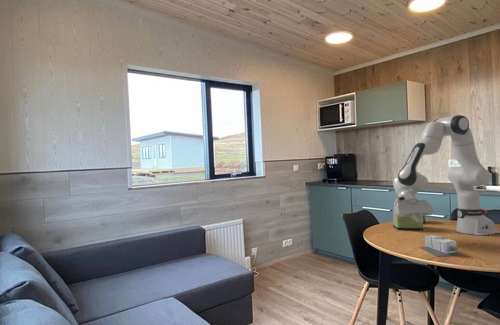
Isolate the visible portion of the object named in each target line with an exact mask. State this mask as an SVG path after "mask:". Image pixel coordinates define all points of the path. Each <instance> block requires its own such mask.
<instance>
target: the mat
mask: <svg viewBox="0 0 500 325" xmlns="http://www.w3.org/2000/svg"><path fill="white" fill-rule="evenodd" d="M419 249H421V250H423V251H426V252H428V253H430V254H432V255H433V256H435V257H454V256H455V257H457V256H463V254H462V253H460V252H458V251H457V253H449V254H446V253H443V252H440V251H437V250H435V249H432V248H429V247H427V246H419Z"/></svg>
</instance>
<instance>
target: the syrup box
mask: <svg viewBox="0 0 500 325" xmlns="http://www.w3.org/2000/svg"><path fill="white" fill-rule="evenodd" d="M424 245H425V246H424V247H429V248H432V249H435V250H437V251H440V252H443V253H446V254H449V253H457V252H458V249H457V248H458V245H457V241H456V240H453V239H451V238H450V239H449V238H446V237H444V236H440V235H436V234H429V235H424Z"/></svg>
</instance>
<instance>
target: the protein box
mask: <svg viewBox="0 0 500 325" xmlns="http://www.w3.org/2000/svg"><path fill="white" fill-rule="evenodd" d="M394 208H395V207H394V206H393V205H392V216H393V217H392V218H393V219H392V221H393V224H392V225H393V226H392V227H393V228H395V230H397V231H424V223H423V222H416V220H415V219H413V218H412V216H404V217H399V216H397V214H396V212H395V209H394ZM416 217H417V218H420V217H418V216H416ZM422 219H423V216H422Z"/></svg>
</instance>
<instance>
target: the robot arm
mask: <svg viewBox="0 0 500 325" xmlns="http://www.w3.org/2000/svg"><path fill="white" fill-rule="evenodd" d="M469 121H470V120H469V119H468V118H467V117H466V116H465V115H461V114H460V115H459V114H457V115H450V116H445V117H441V118H438V119H434V120H432V121H431V122H428V123H427V124H426V126H425V128H424V129H423V132H422V134H421V136H420V138H419V141H418V142H417V143H416V144H415V145H414V146H413V148H412V149H411V151H410V153H409V155H408V157H407V159H406V161H405V163H404V165H403V166H402V168H401V169H400V171H399V172H398V174H397V177H395V178H394V179H393V181H392V186H393V189H394V191H395V193H396V195H397V197H396V199H395V201H394V202H393V203H392V207H393V206H394V207H395V208H394V209H395V212H396V214H397V216H399V217H404V216H412V218H413V219H415V220H416V222H423V219H422V216H424V215H425V216H432V215H433V214H434V212H435V210H434V208H433V207H432V205H431V204H430V202H428V201H427V200H424V199H423V200H420V199H419V198H418V197H417V195H416V194H417V193H420V192H421V191H422V192H423V191H424V190H425V189H426V188H427V187H428V185H429V180H428V178H427V177H426V176H424V175H423V174H421V173H420V172H418V171H417V168H418V165H419V163H420V161H421V159H422V158H423V156H424V155H425V156H428V155H429V156H430V155H434V154H437V153H438V152H439V150H440V147H441V146H442V142H443V139H444V137H446V136H447V137H448V136H450V138H451V147H452V152H453V157H454V160H455V161H457V162H458V163H459V165H460V166H456V167H452V168H450V169H449V171H448V172H447V179H448V181H450V182H451V183H452V185H453V186H454V189H455V192H456V196H457V208H456V214H457V222H456V225H455V226H456V227H455V229H454V230H455V231H456V232H457V233H461V234H465V235H466V234H467V235H475V236H487V235H488V234H489V235H496V234H495V233H497V234H500V230H499V229H497V228H496V224H495V222H494V221H493V220H492V219H490V218H489V217H487V216H486V215H485V214H487V213H488V209H484V208H483V209H482V208H481V196H480V194H479V193H478V192H477V191H476V190H475V188H474V187H479V186H480V187H481V186H487V185H488V184H489V183H490V181H491V178H492V175H491V172H490V171H489V170H488V169H486V168H485V167H484V166H483V165H482V163H481V162H480V160H479V158H478V155H477V150H476V145H475V139H474V136H473V135H474V134H473V132H472V130H471V128H470V122H469ZM416 216H418V217H420V218H417V217H416Z"/></svg>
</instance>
